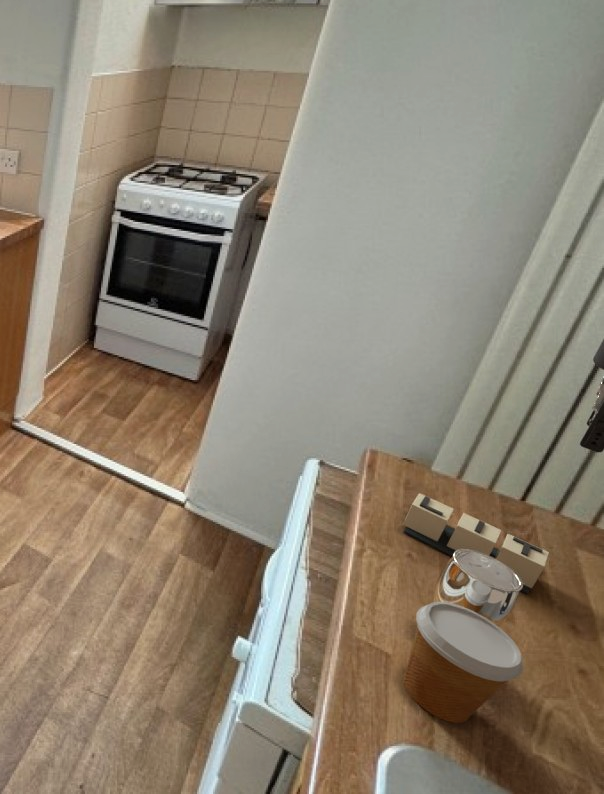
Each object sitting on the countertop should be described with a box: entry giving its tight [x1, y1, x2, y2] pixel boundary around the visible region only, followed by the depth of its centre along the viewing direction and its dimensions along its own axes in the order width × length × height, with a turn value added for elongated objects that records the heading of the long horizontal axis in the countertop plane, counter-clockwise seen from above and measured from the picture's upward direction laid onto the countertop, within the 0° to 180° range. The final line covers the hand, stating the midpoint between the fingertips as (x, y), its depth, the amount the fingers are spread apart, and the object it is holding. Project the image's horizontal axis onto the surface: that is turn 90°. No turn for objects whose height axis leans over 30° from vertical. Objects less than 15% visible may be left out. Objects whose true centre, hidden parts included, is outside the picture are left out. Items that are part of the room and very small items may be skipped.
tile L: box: [402, 493, 455, 541], centre depth 103 cm, size 5×5×5 cm
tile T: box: [495, 533, 550, 589], centre depth 95 cm, size 5×5×5 cm
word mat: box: [403, 524, 531, 595], centre depth 100 cm, size 15×8×1 cm, turn 36°
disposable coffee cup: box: [403, 601, 524, 724], centre depth 75 cm, size 10×10×12 cm
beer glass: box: [432, 549, 523, 628], centre depth 81 cm, size 7×7×15 cm
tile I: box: [447, 512, 502, 556], centre depth 99 cm, size 5×5×5 cm
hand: (593, 438), depth 90 cm, fingers open, 8 cm apart
